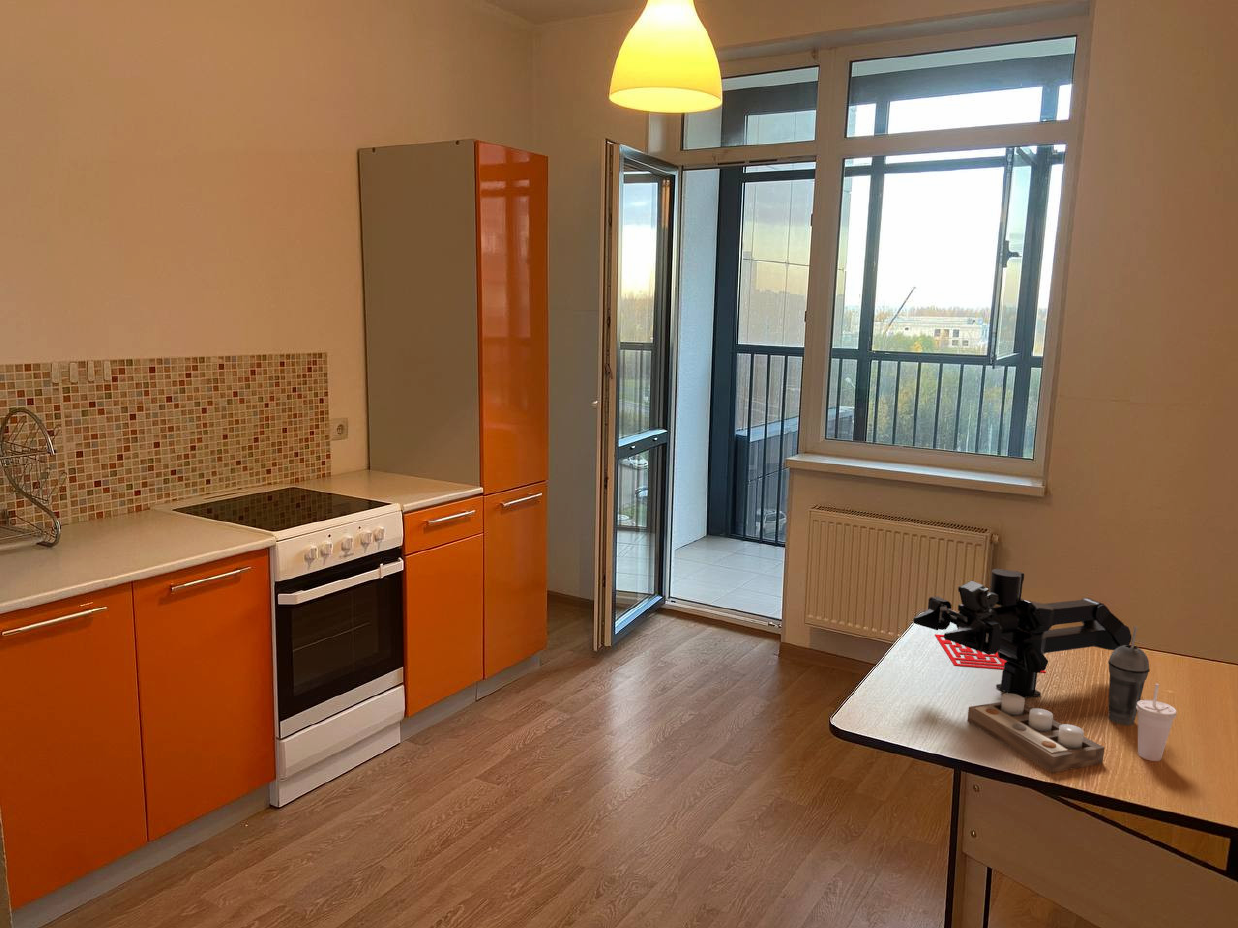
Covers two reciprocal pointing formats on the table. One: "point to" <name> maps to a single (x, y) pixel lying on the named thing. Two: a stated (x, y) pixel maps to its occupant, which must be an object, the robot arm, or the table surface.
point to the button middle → (1040, 720)
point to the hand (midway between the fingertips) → (928, 628)
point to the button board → (1033, 739)
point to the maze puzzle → (971, 658)
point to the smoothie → (1153, 726)
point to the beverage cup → (1126, 681)
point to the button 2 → (1070, 736)
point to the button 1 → (1012, 704)
